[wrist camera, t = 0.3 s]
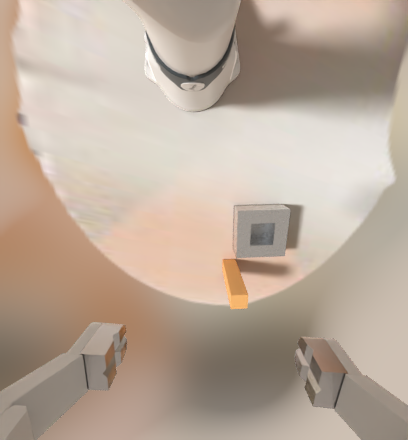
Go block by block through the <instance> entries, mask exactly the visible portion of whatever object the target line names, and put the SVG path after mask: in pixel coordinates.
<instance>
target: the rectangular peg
mask: <svg viewBox="0 0 408 440" xmlns="http://www.w3.org/2000/svg"><path fill="white" fill-rule="evenodd" d="M223 275H224V280H225V284H226V289H227V294H228V298H229V303H230V308H231V309H243V308H247V305H248V293H247V290H246V287H245V285H244V282H243V279H242V276H241V274H240V271H239V268H238V265H237V263H236V260H235V259H229V260H223Z"/></svg>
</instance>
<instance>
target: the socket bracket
mask: <svg viewBox="0 0 408 440" xmlns="http://www.w3.org/2000/svg"><path fill="white" fill-rule="evenodd" d="M290 211H291V209H290V208H288V207H286V206H284V205H283V204H268V205H237V206H234V226H233V250H234V253H235V256H236V258H247V257H273V256H285V250H286V242H287V234H288V226H289V219H290Z"/></svg>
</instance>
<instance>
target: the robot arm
mask: <svg viewBox="0 0 408 440" xmlns="http://www.w3.org/2000/svg"><path fill="white" fill-rule="evenodd" d="M122 1H123V2H125V3H126V4H127V5H128V6H129V7H130V8H131V9H132V10H133V11H134V12H135V13H136V14H137V15H138V17H139V18H140V20H141V22H142V24H143V26H144V28H145V31H144V41H145V43H146V55H145V73H146V76H147V77H148V78H149V79H150V80H151V81H152V82H154V83H155V84H156V85H158V86H159V87H160V89H161V90H162V91H163V93H164V94H165V96H166V97H167V98H168V100H169V101H170V102H171V103H172V104H174V105H175V106H177V107H178V108H180V109H183V110H186V111H191V112H196V111H202V110H205V109H207V108H209V107H211V106H212V105H213V104H215V103H216V102H217V101H218V99H219V98H220V97H221V95H222V94H223V92H224V90H225V88H226V87H227V85H228V84H229V83H231V82H232V81H233V80H234V79H236V78H237V77H238V75H239V73H240V61H239V54H238V46H237V39H236V31H235V21H236V18H237V14H238V10H239V7H240V3H241V0H122ZM125 333H126V326H125V325H121V324H111V323H99V322H93V323H91V324H90V325H89V326H88V327H87V329H86V330H85V331H84V332H83V333H82V335H81V336H80V337H79V338H78V340H77V341H76V342H75V343H74V345H73V346H72V347H71V348H70V350H69V351H68V352H67V353H63V354H61V355H60V356H58V357H56V358H55V359H53V360H51V361H50V362H48V363H46V364H45V365H43V366H41V367H40V368H38V369H37V370H35V371H33V372H32V373H30V374H28V375H27V376H25V377H24V378H22V379H20V380H19V381H17V382H15V383H14V384H12V385H10V386H9V387H7V388H6V389H4V390H2V391H1V392H0V440H37V439H38V438H39V437H40V436H41V435H42V434H43V433H44V432H45V431H46V430H47V429H49V427H51V426H52V425H53V424H54V423H55V422H56V421H57V420H58V419H59V418H60V417H61V416H62V415H63V414H64V413H65V412H66V411H67V410H68V409H69V408H70V407H72V406H73V405H74V404H75V403H76V402H77V401H78V400H79V399H80V398H81V397H82V396H83V395H84V394H85V393H86V392H87V391H88V390H109V388H110V386H111V384H112V382H113V380H114V378H115V375H116V367H117V366H119V365H120V364H121V363H122V361H123V358H124V356H125V353H126V349H127V339H126V338H125V336H124V335H125ZM297 344H298V346H299V349H298V350H297V351H296V353H295V365H296V368H297V371H298V374H299V376H300V377H301V378H302V379H303V380H304V381H305V382H306V383H305V390H306V392H307V394H308V397H309V399H310V401H311V403H312V406H314V407H323V408H332V409H335V411H336V412H337V413H338V414H339V415H340V417H341V418H342V419H343V420H344V421H345V422H346V423H347V424H348V425H349V427H350V428H351V429H352V430H353V431H354V432H355V433H356V434H357V435H358V437H359V438H360V439H361V440H408V405H406V404H405V403H404V402H402V401H401V400H400V399H398V398H397V397H395V396H394V395H393V394H391V393H390V392H389V391H387V390H386V389H384V388H383V387H382V386H380V385H379V384H378V383H376V382H375V381H373V380H372V379H371V378H369V377H368V376H365V375H362V374H361V372H360V371H359V369H358V368H357V367H356V365H355V364H354V363H353V362H352V361H351V359H350V358H349V356H348V355H347V354H346V352H345V351H344V350H343V348H342V347H341V346H340V344H339V343H338V342H337V341H336V340H335V339H329V338H313V337H300V338H299V339H298V343H297Z"/></svg>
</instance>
